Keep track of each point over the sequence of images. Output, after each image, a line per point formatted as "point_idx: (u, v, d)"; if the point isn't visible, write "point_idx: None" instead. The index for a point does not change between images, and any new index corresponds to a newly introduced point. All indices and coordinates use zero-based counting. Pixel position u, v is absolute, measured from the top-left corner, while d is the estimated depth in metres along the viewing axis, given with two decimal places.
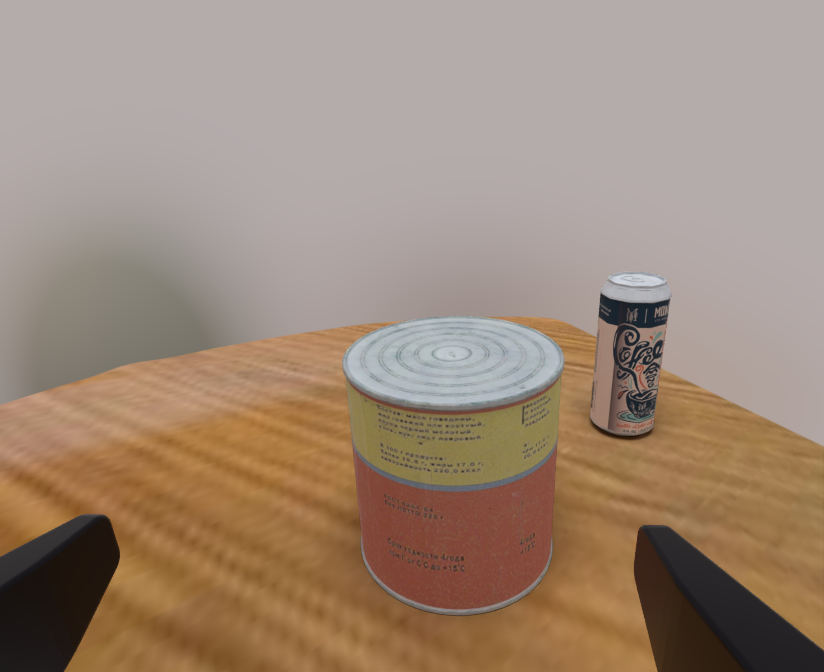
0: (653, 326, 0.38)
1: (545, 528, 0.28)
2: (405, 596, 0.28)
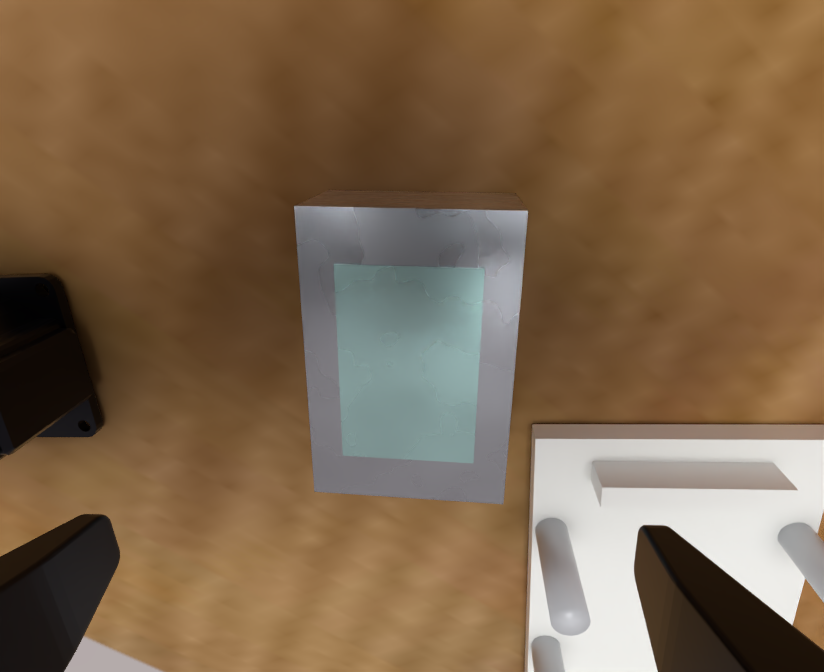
0: None
1: None
2: None
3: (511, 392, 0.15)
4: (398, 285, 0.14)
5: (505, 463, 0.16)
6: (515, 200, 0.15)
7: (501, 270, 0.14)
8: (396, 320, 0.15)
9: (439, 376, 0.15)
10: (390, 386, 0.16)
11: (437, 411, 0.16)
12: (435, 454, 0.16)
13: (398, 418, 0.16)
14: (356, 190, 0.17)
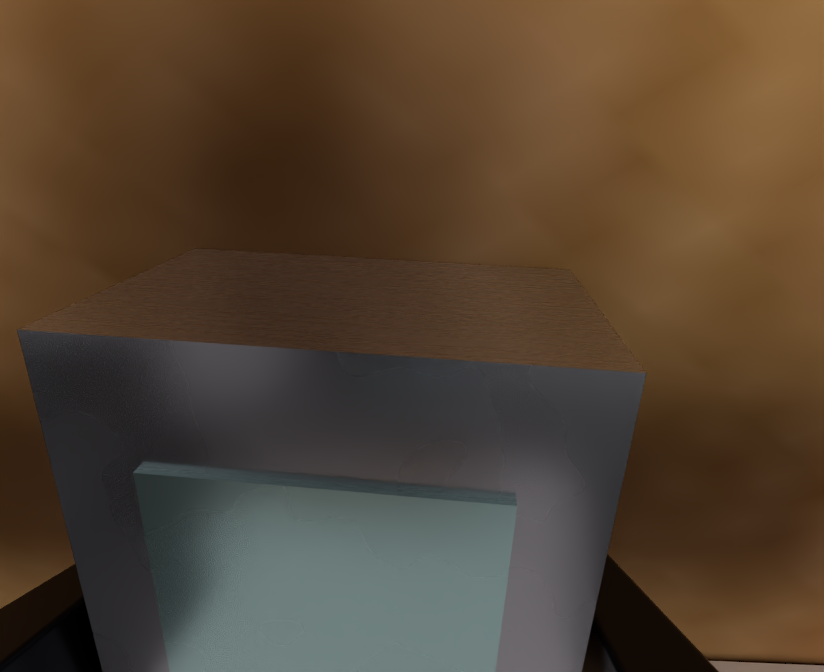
0: None
1: None
2: None
3: None
4: (296, 527, 0.06)
5: None
6: (583, 304, 0.07)
7: (559, 506, 0.05)
8: (297, 593, 0.06)
9: None
10: None
11: None
12: None
13: None
14: (249, 252, 0.09)
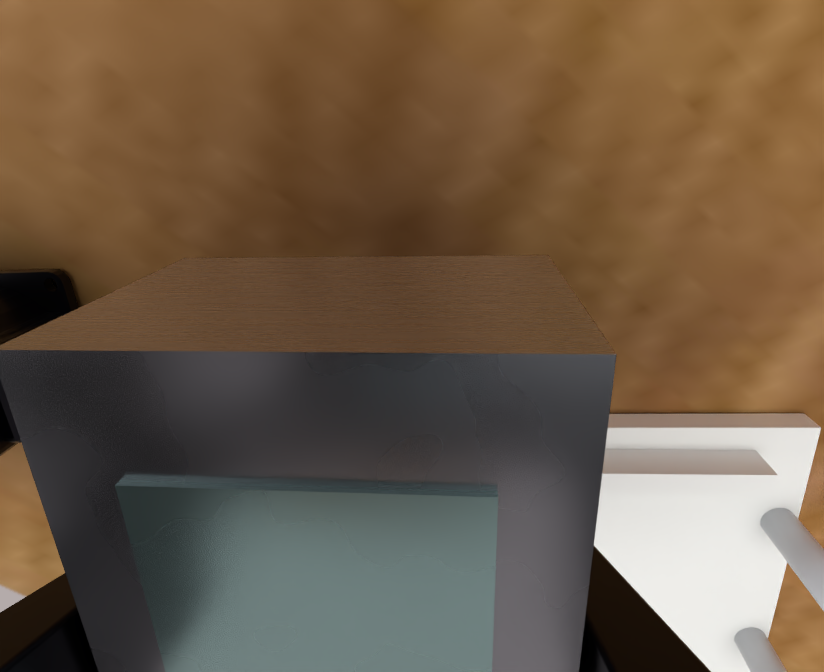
0: None
1: None
2: None
3: None
4: (280, 531, 0.06)
5: None
6: (561, 291, 0.07)
7: (540, 495, 0.05)
8: (288, 598, 0.06)
9: None
10: None
11: None
12: None
13: None
14: (230, 261, 0.09)
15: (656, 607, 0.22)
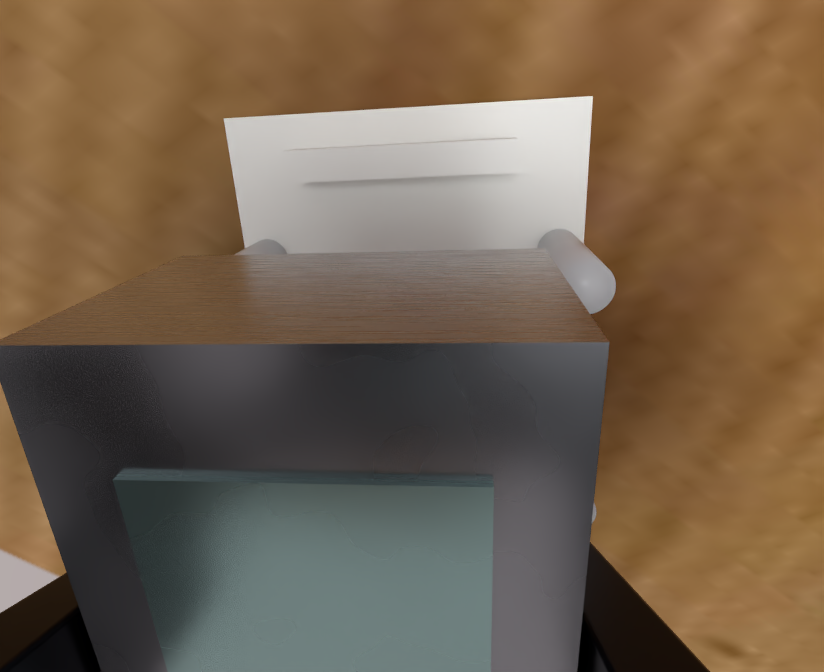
0: None
1: None
2: None
3: None
4: (277, 524, 0.06)
5: None
6: (556, 282, 0.07)
7: (536, 485, 0.05)
8: (286, 591, 0.06)
9: None
10: None
11: None
12: None
13: None
14: (228, 259, 0.09)
15: None
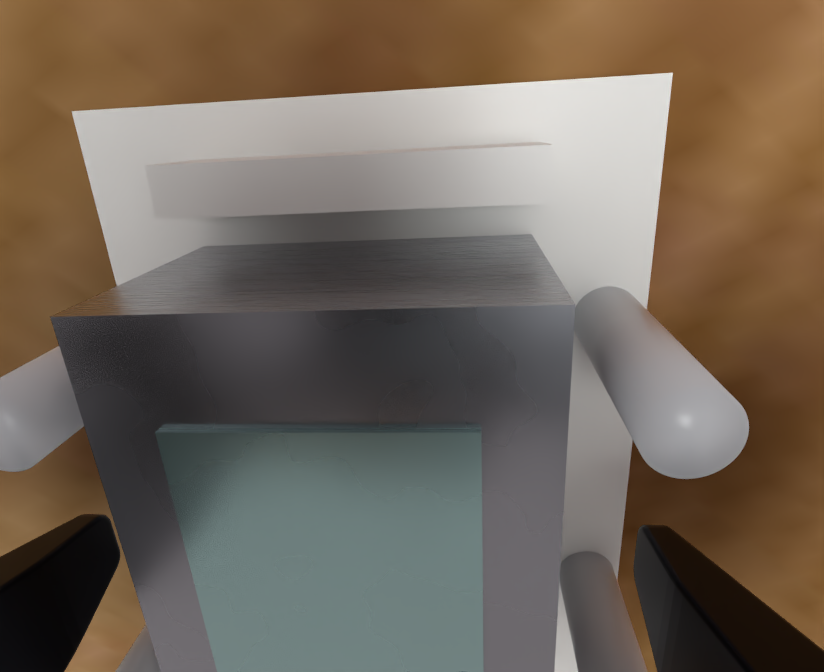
0: None
1: None
2: None
3: (552, 653, 0.07)
4: (297, 469, 0.07)
5: None
6: (537, 261, 0.08)
7: (518, 431, 0.06)
8: (304, 531, 0.07)
9: (403, 629, 0.07)
10: (310, 642, 0.08)
11: None
12: None
13: None
14: (245, 247, 0.10)
15: None
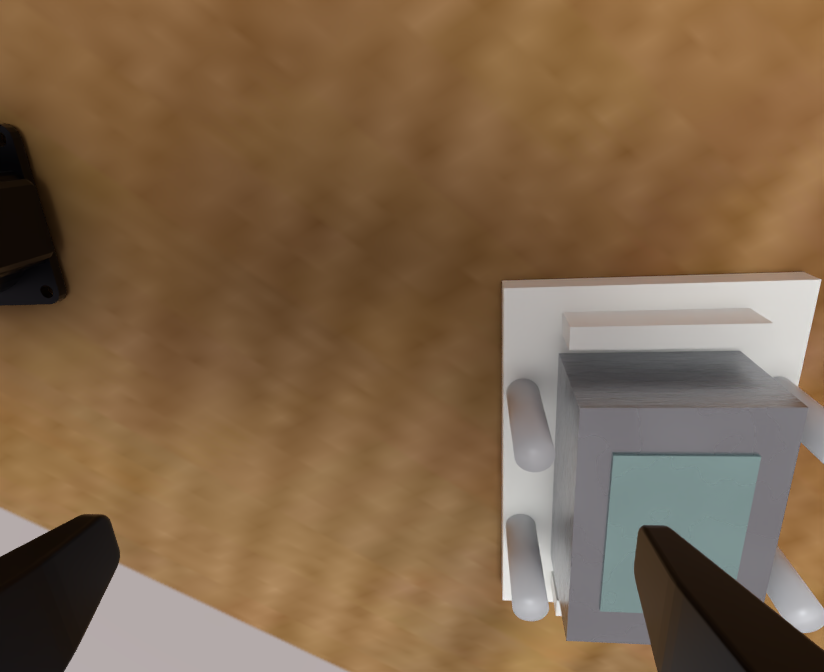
0: None
1: None
2: None
3: (773, 556, 0.16)
4: (674, 471, 0.16)
5: None
6: (765, 376, 0.16)
7: (776, 456, 0.15)
8: (666, 499, 0.16)
9: (705, 544, 0.16)
10: None
11: None
12: None
13: None
14: (587, 356, 0.19)
15: None
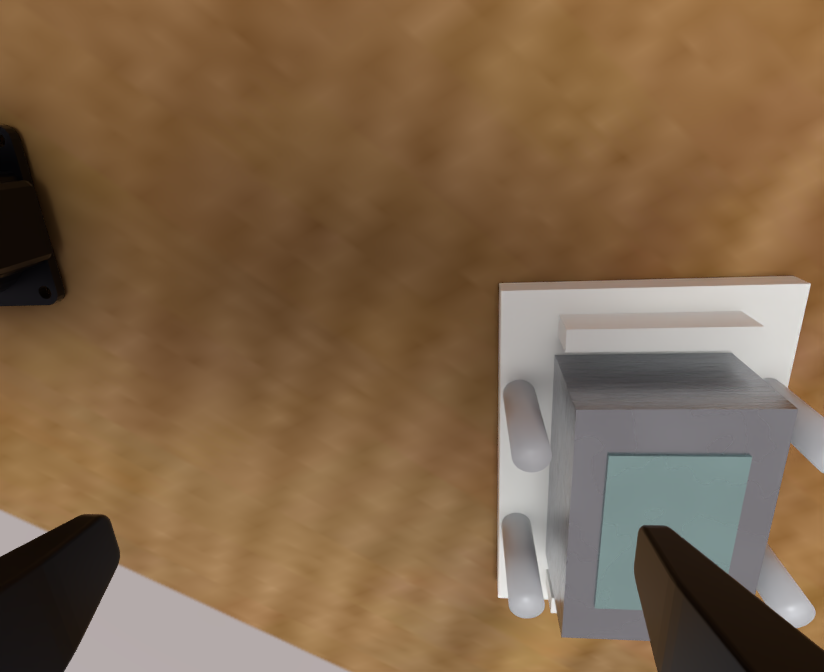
0: None
1: None
2: None
3: (763, 553, 0.17)
4: (667, 471, 0.16)
5: None
6: (756, 378, 0.17)
7: (766, 456, 0.16)
8: (660, 498, 0.16)
9: (697, 543, 0.17)
10: None
11: None
12: None
13: None
14: (583, 358, 0.19)
15: None
